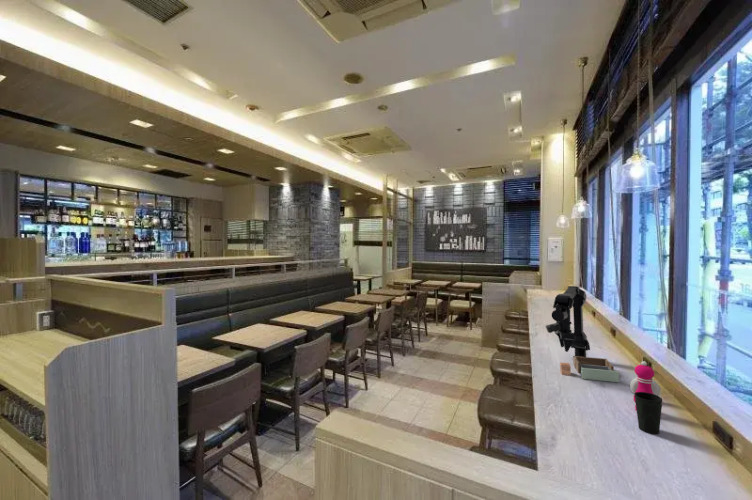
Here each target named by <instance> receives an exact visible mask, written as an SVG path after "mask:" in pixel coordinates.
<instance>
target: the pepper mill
mask: <svg viewBox="0 0 752 500" xmlns="http://www.w3.org/2000/svg"><path fill="white" fill-rule="evenodd" d="M634 374H635V375H636V377H637V381H638V388H637V390H636V392H647V393H651V394H653V392H652V388H651V383H653V380H654V379H653V377H655V371H654V369H653V368H652V367H651V366H649V365H648V363H647V362H646V361H645V360H644V361H643V360H642V361H641V363H640V364H638V365H636V366H635V368H634ZM636 377H635V378H636ZM636 392H635V393H636ZM633 402H634V403H635V396H634V395H633ZM634 408H635V412H637V410H636V404H634Z"/></svg>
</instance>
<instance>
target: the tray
mask: <svg viewBox="0 0 752 500" xmlns="http://www.w3.org/2000/svg"><path fill="white" fill-rule="evenodd" d="M580 374H581V379H582V380H584V379H585V380H592V381H604V382H610V383H611V382H613V383H620V371H618V370H614V371H612V370H611V369H610V368H609V367H607V366H596V365H585V364H580Z"/></svg>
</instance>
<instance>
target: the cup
mask: <svg viewBox="0 0 752 500" xmlns="http://www.w3.org/2000/svg"><path fill="white" fill-rule="evenodd" d="M634 396H635V402H634V404H635V405H636V410H637V411H636V410H635V411H636V415H637V416H636V417H637V423H638V429H639V430H640V431H642V432H643V433H645V434H650V435H659V434H660V429H661V428H660V427H661V420H662V419H661V418H662V407H663V399H662V397H661V396H660V395H659V396H657V395H655V394H651V393H647V392H636V393H635V394H633V397H634Z"/></svg>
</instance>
